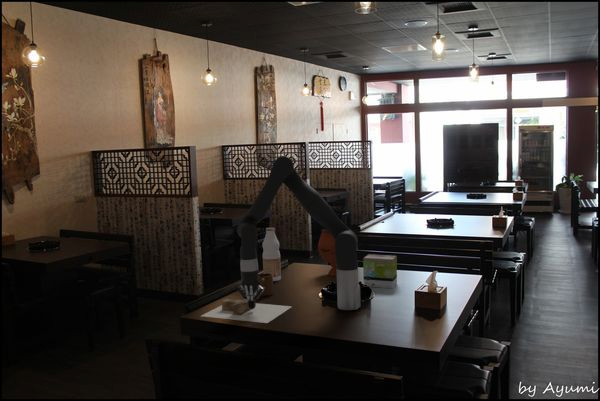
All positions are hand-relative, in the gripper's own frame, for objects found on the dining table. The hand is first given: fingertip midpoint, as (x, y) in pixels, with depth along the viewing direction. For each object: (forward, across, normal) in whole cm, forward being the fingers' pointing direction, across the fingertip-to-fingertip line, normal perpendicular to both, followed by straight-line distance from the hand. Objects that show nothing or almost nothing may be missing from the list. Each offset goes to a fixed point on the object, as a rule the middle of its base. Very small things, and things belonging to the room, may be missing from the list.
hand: (252, 308), depth 232 cm
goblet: (+3, -11, -77) cm, 78 cm away
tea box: (+3, -40, -59) cm, 72 cm away
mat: (+2, +3, 0) cm, 3 cm away
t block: (+1, +8, 0) cm, 8 cm away
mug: (+2, +8, -26) cm, 27 cm away
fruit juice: (+2, +18, -56) cm, 59 cm away
